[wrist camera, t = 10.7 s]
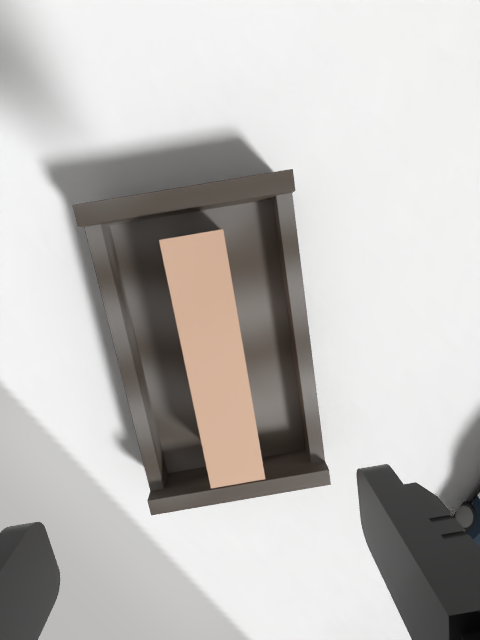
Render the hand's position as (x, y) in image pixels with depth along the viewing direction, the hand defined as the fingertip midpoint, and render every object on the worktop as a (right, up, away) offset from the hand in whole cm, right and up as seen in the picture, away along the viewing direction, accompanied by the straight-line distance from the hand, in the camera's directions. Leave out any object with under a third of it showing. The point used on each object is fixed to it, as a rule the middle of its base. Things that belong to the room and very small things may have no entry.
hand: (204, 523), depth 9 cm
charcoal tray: (-1, +3, +18) cm, 18 cm away
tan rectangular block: (-1, +3, +17) cm, 17 cm away
